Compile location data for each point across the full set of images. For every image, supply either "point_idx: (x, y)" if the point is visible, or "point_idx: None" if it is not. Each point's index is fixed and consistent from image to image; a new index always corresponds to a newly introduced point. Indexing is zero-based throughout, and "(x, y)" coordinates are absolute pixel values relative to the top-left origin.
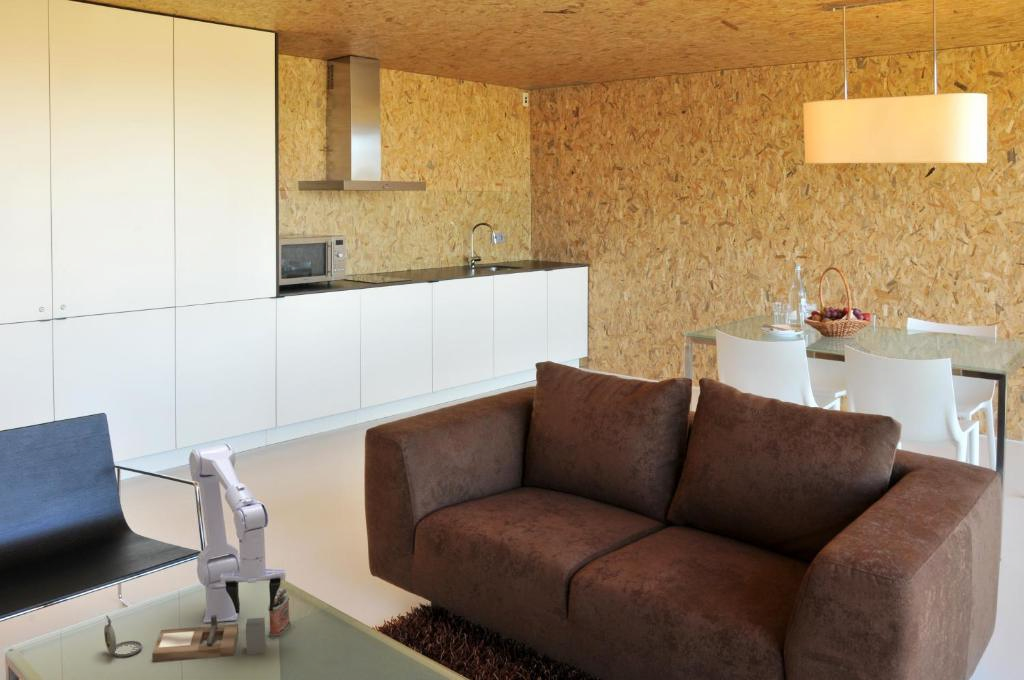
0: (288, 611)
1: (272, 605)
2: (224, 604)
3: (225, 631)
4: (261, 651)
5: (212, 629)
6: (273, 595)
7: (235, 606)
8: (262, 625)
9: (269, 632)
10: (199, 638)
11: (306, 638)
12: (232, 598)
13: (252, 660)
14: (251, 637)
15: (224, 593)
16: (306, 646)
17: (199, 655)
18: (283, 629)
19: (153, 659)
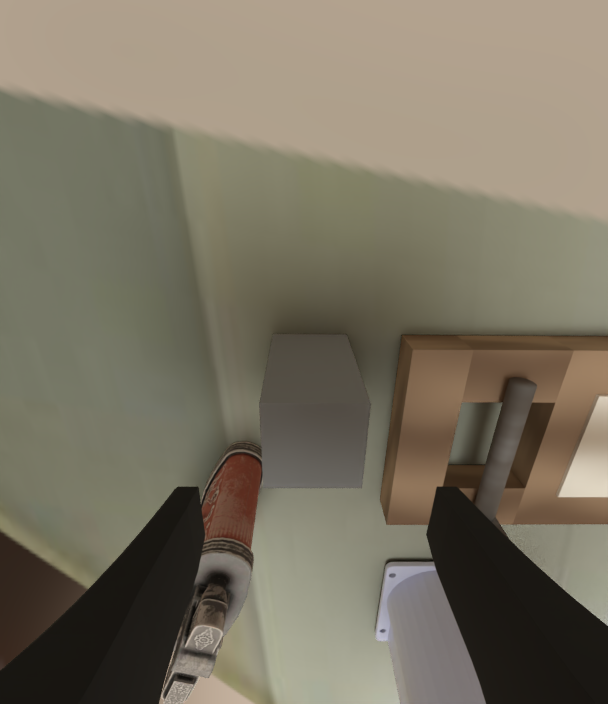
0: None
1: (153, 519)
2: (443, 629)
3: (437, 482)
4: (285, 337)
5: (499, 485)
6: (71, 630)
7: (496, 532)
8: (265, 402)
9: None
10: (546, 446)
11: (116, 420)
12: (594, 626)
13: (320, 274)
14: (330, 368)
15: (460, 688)
16: (99, 357)
17: (548, 340)
18: (212, 481)
19: None
